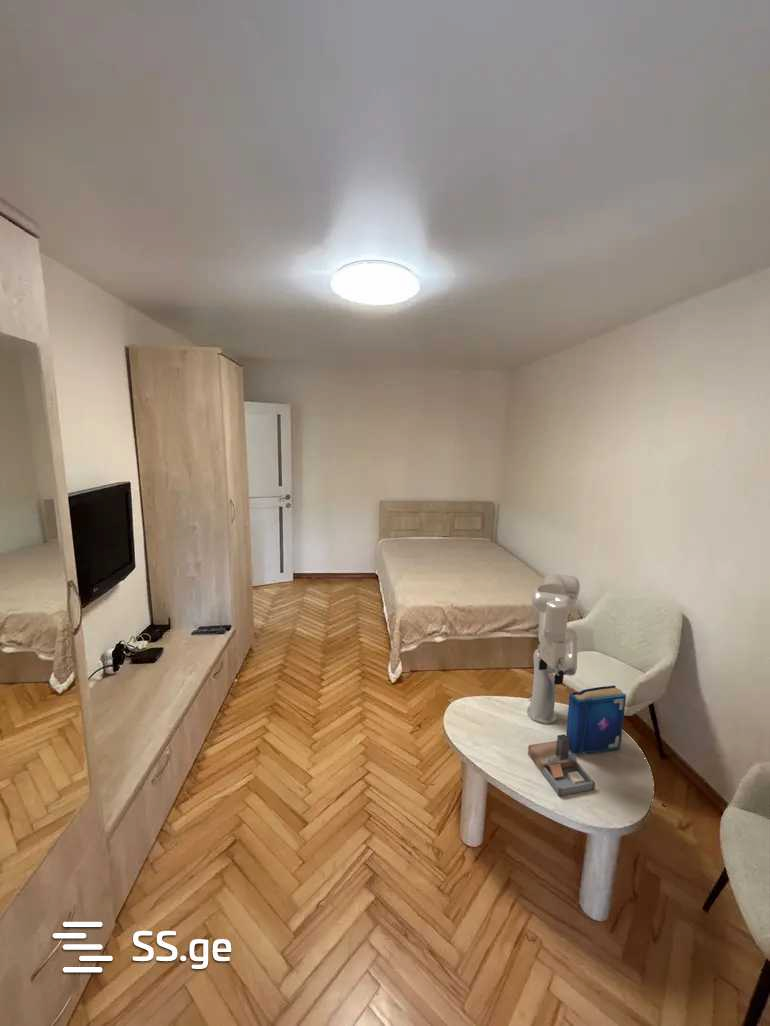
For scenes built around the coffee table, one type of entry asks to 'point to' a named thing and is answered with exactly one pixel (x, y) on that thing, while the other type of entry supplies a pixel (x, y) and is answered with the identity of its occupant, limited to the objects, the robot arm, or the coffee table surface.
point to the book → (595, 720)
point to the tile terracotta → (556, 770)
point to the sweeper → (561, 752)
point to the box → (565, 785)
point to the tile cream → (575, 777)
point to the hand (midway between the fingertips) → (550, 676)
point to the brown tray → (546, 755)
